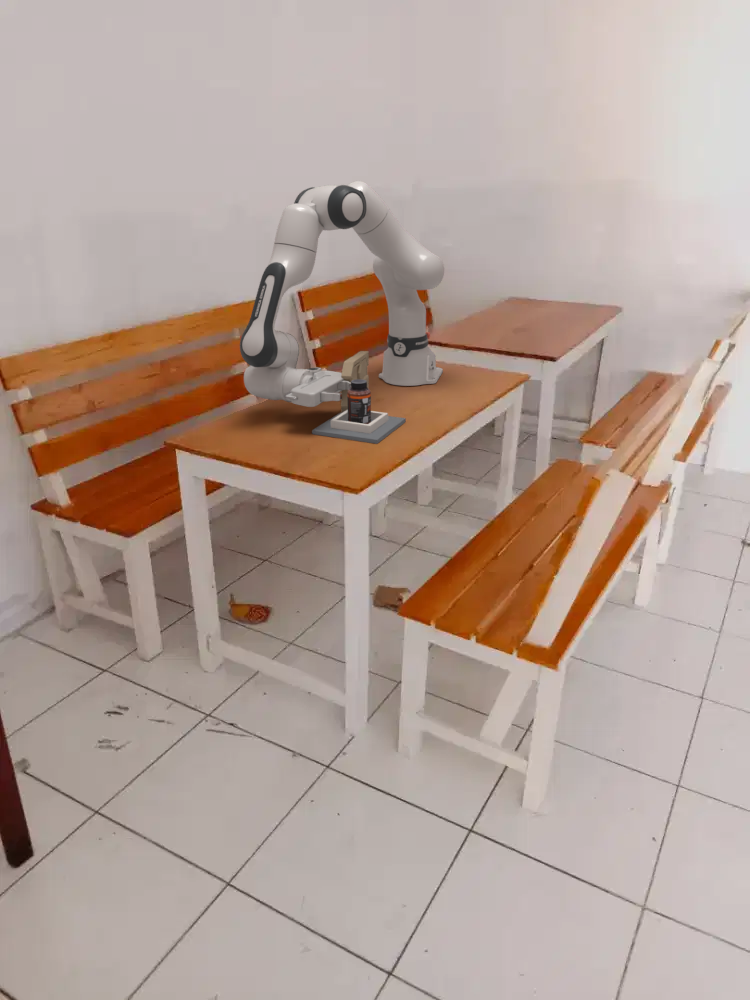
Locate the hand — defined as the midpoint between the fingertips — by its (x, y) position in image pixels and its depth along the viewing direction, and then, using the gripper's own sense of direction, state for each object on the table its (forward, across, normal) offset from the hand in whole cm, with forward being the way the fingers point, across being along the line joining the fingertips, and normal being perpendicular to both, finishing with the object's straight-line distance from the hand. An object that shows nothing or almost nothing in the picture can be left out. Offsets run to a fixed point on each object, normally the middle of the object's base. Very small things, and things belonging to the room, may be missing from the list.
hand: (348, 392), depth 200 cm
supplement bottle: (+3, 0, +8) cm, 9 cm away
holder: (+3, 0, +9) cm, 10 cm away
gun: (-6, +17, +10) cm, 21 cm away
